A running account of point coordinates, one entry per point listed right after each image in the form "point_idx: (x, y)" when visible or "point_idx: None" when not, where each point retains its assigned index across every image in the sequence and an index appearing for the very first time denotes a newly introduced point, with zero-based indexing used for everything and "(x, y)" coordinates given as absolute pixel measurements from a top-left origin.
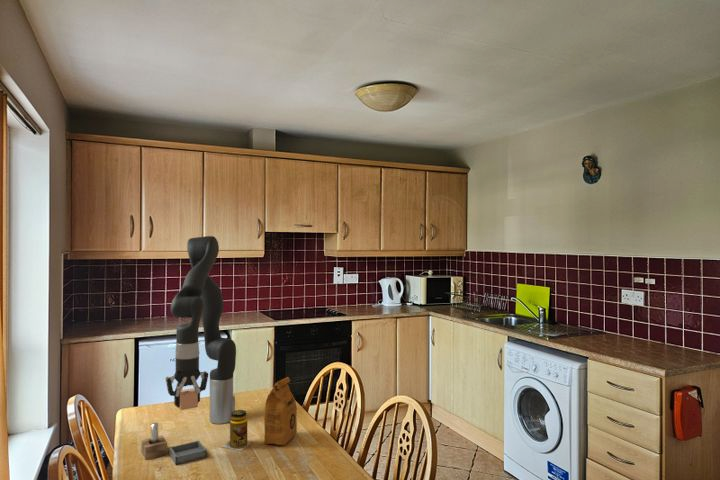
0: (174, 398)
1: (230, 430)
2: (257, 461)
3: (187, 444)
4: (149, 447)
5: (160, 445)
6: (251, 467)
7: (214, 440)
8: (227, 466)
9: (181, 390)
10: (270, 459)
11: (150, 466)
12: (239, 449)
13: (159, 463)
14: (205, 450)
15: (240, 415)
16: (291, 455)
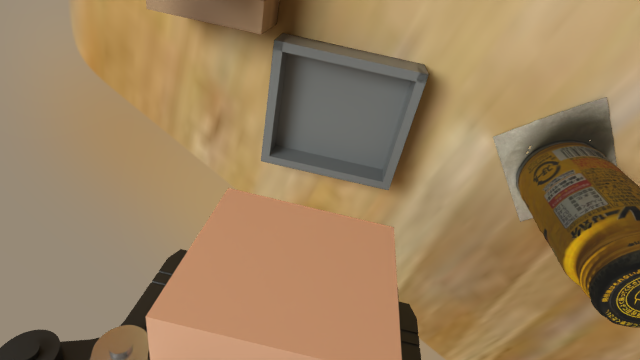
0: (137, 309)
1: (549, 211)
2: (483, 306)
3: (363, 68)
4: (170, 12)
5: (227, 25)
6: (440, 316)
7: (537, 41)
8: (396, 270)
9: (211, 343)
10: (519, 322)
11: (186, 87)
12: (522, 208)
13: (222, 88)
14: (384, 188)
15: (615, 321)
16: (583, 345)
